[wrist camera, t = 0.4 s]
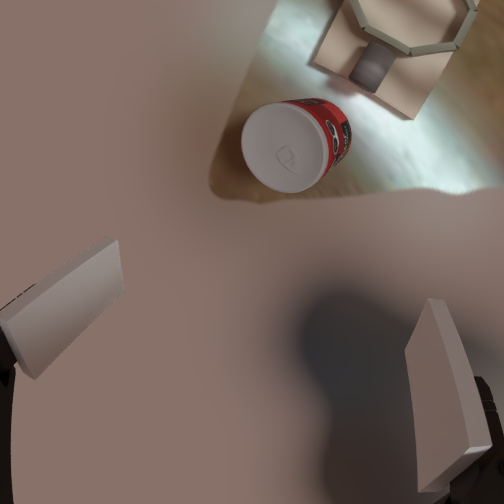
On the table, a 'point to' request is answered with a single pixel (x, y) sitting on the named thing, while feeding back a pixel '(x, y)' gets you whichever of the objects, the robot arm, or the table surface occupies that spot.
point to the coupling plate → (396, 46)
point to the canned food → (295, 142)
